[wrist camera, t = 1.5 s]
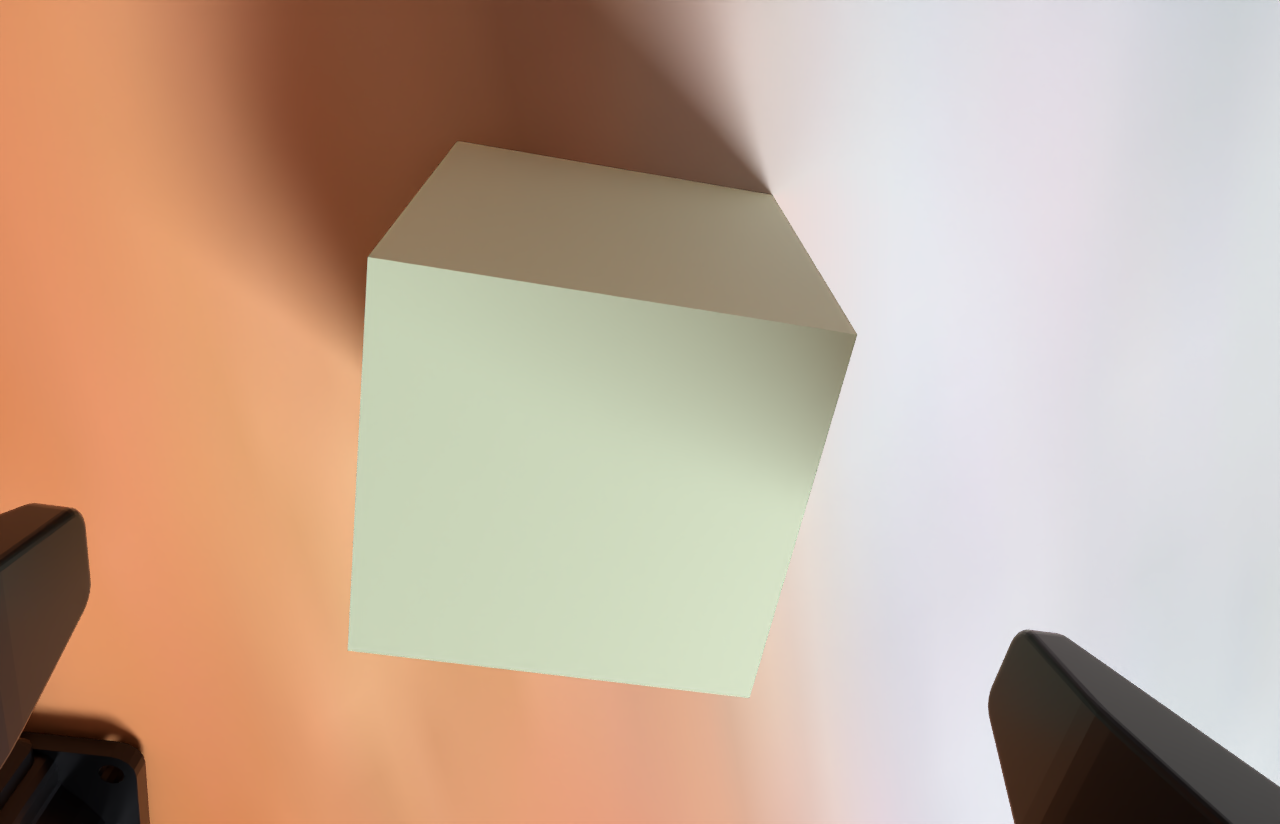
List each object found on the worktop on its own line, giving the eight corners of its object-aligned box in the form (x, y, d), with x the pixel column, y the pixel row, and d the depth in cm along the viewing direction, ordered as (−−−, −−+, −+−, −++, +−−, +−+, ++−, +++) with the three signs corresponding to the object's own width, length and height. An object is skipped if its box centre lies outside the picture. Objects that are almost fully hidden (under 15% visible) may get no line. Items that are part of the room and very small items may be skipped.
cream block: (707, 462, 17) (749, 697, 12) (432, 424, 17) (347, 650, 12) (772, 194, 15) (856, 334, 10) (458, 140, 15) (367, 257, 9)
